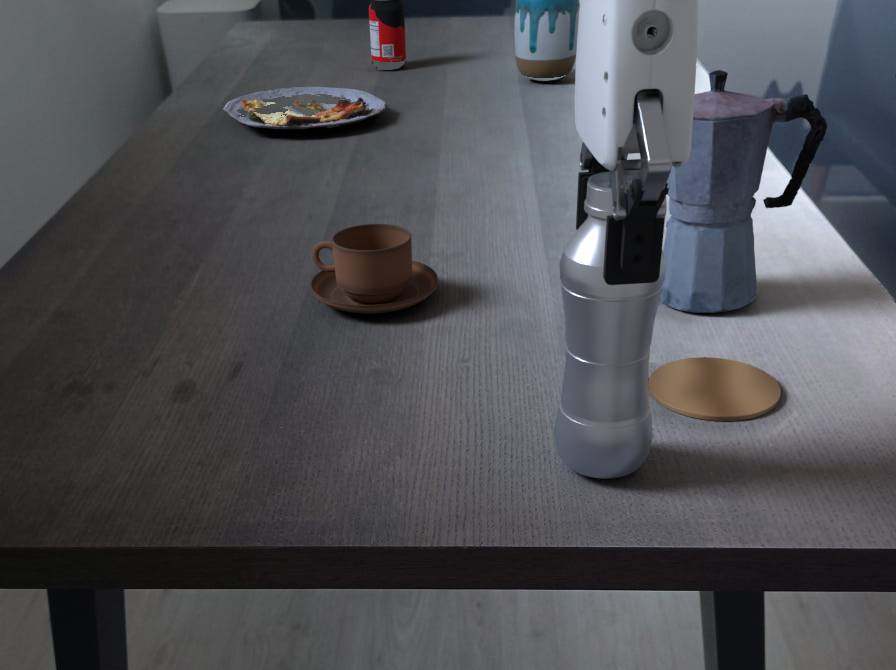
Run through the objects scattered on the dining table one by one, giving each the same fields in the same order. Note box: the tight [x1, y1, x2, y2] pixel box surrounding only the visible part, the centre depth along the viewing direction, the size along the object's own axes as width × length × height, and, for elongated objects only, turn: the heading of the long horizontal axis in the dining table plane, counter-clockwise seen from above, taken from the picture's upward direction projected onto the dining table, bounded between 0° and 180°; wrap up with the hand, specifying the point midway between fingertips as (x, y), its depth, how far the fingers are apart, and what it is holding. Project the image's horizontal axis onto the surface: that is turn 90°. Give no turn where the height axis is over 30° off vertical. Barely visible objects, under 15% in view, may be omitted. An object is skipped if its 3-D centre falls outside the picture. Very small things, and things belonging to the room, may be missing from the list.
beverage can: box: [368, 0, 407, 62], centre depth 187 cm, size 6×6×12 cm
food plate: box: [222, 86, 388, 130], centre depth 158 cm, size 25×23×4 cm
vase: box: [513, 0, 580, 83], centre depth 171 cm, size 11×11×19 cm
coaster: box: [649, 356, 782, 422], centre depth 81 cm, size 10×10×1 cm
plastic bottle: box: [553, 172, 666, 479], centre depth 67 cm, size 6×7×20 cm
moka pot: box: [659, 69, 828, 314], centre depth 91 cm, size 10×15×20 cm, turn 78°
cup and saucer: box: [310, 223, 439, 315], centre depth 97 cm, size 12×12×6 cm
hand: (614, 254), depth 64 cm, fingers open, 7 cm apart
